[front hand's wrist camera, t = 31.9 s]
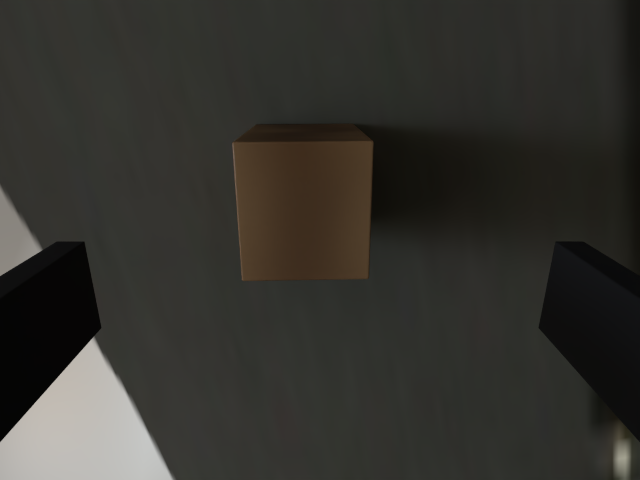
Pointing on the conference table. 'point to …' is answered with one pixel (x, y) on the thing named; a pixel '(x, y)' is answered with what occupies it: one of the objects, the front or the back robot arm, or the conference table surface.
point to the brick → (304, 201)
